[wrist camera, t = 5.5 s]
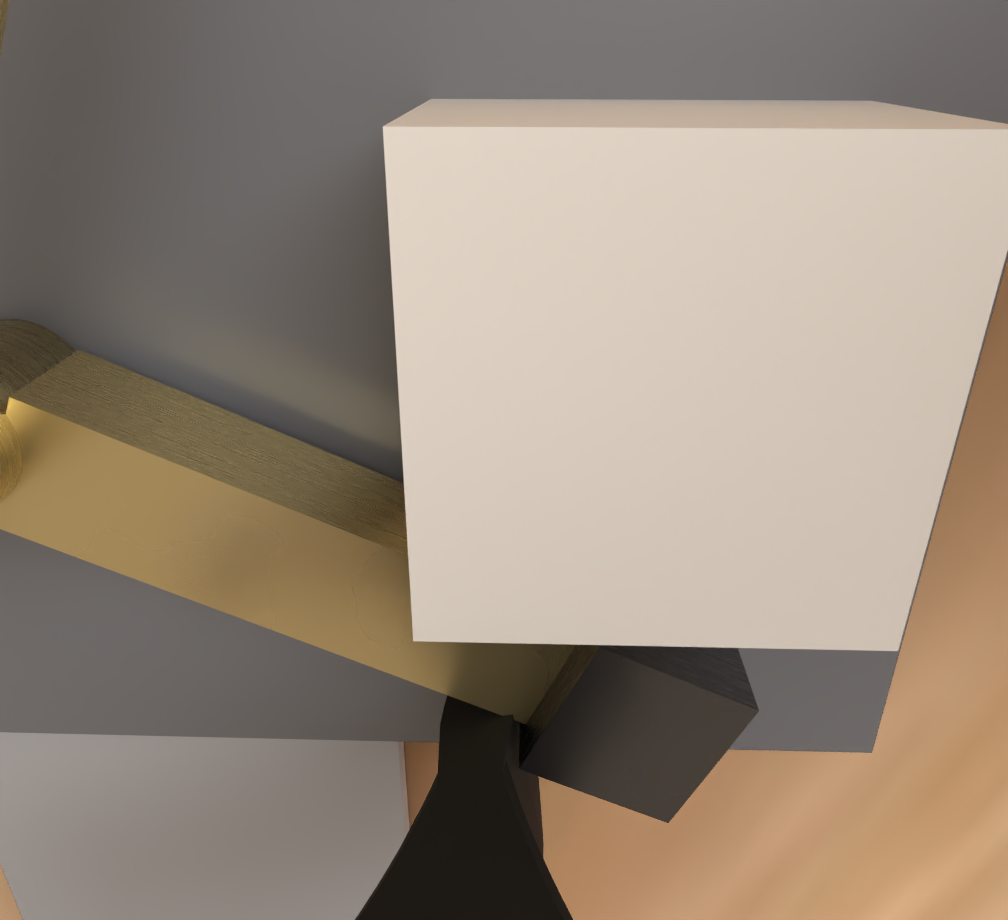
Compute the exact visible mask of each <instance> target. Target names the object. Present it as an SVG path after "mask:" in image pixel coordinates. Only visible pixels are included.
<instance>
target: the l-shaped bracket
mask: <svg viewBox="0 0 1008 920" xmlns="http://www.w3.org/2000/svg"><path fill="white" fill-rule="evenodd" d="M9 2H10V0H0V56H1V50H2V44H3V38H4V32H5V26H6V20H7V14H8V8H9ZM0 529H1V530H4V531H7V532H9V533H12V534H15V535H17V536H20V537H23V538H26V539H28V540H31V541H34V542H36V543H39V544H42V545H44V546H47V547H50V548H52V549H55V550H58V551H61V552H63V553H66V554H69V555H71V556H74V557H77V558H79V559H82V560H85V561H87V562H90V563H93V564H95V565H98V566H101V567H104V568H106V569H109V570H112V571H114V572H117V573H120V574H122V575H125V576H128V577H130V578H133V579H136V580H139V581H141V582H144V583H147V584H149V585H152V586H155V587H157V588H160V589H163V590H165V591H168V592H171V593H174V594H176V595H179V596H182V597H184V598H187V599H190V600H192V601H195V602H198V603H200V604H203V605H206V606H209V607H211V608H214V609H217V610H219V611H222V612H225V613H227V614H230V615H233V616H235V617H238V618H241V619H243V620H246V621H249V622H252V623H254V624H257V625H260V626H262V627H265V628H268V629H270V630H273V631H276V632H278V633H281V634H284V635H287V636H289V637H292V638H295V639H297V640H300V641H303V642H305V643H308V644H311V645H313V646H316V647H319V648H322V649H324V650H327V651H330V652H332V653H335V654H338V655H340V656H343V657H346V658H348V659H351V660H354V661H357V662H359V663H362V664H365V665H367V666H370V667H373V668H375V669H378V670H381V671H383V672H386V673H389V674H392V675H394V676H397V677H400V678H402V679H405V680H408V681H410V682H413V683H416V684H418V685H421V686H424V687H426V688H429V689H432V690H435V691H437V692H440V693H443V694H445V695H448V696H451V697H453V698H456V699H459V700H461V701H464V702H467V703H470V704H472V705H475V706H478V707H480V708H483V709H486V710H488V711H491V712H494V713H496V714H499V715H502V716H504V715H512V714H513V717H514V720H515V721H518V722H520V736H519V769H520V770H523V771H526V772H528V773H531V774H534V775H537V776H539V777H542V778H545V779H548V780H550V781H553V782H556V783H559V784H562V785H564V786H567V787H570V788H573V789H575V790H578V791H581V792H584V793H586V794H589V795H592V796H595V797H598V798H600V799H603V800H606V801H609V802H611V803H614V804H617V805H620V806H622V807H625V808H628V809H631V810H634V811H636V812H639V813H642V814H645V815H647V816H650V817H653V818H656V819H658V820H661V821H664V822H667V823H669V822H670V820H671V819H672V818H673V817H674V815H675V814H676V813H677V812H678V811H679V809H680V808H681V807H682V806H683V804H684V803H685V802H686V801H687V799H688V798H689V797H690V796H691V794H692V793H693V792H694V791H695V790H696V788H697V787H698V786H699V785H700V783H701V782H702V781H703V780H704V778H705V777H706V776H707V775H708V774H709V772H710V771H711V770H712V769H713V767H714V766H715V765H716V764H717V762H718V761H719V760H720V759H721V758H722V756H723V755H724V754H725V753H726V751H727V750H728V749H729V748H730V746H731V745H732V744H733V743H734V742H735V740H736V739H737V738H738V737H739V735H740V734H741V733H742V732H743V730H744V729H745V728H746V727H747V725H748V724H749V723H750V722H751V721H752V719H753V718H754V717H755V716H756V714H757V713H758V712H759V709H758V706H757V703H756V700H755V697H754V694H753V691H752V688H751V685H750V682H749V680H748V677H747V674H746V671H745V668H744V665H743V662H742V659H741V656H740V653H739V650H738V648H719V647H670V646H621V645H572V644H523V643H474V642H425V641H413V629H412V612H411V595H410V578H409V561H408V544H407V527H406V511H405V494H404V483H401V482H399V481H396V480H394V479H392V478H389V477H387V476H384V475H382V474H380V473H377V472H375V471H372V470H370V469H367V468H365V467H363V466H360V465H358V464H355V463H353V462H351V461H348V460H346V459H343V458H341V457H338V456H336V455H334V454H331V453H329V452H326V451H324V450H322V449H319V448H317V447H314V446H312V445H309V444H307V443H305V442H302V441H300V440H297V439H295V438H293V437H290V436H288V435H285V434H283V433H280V432H278V431H276V430H273V429H271V428H268V427H266V426H264V425H261V424H259V423H256V422H254V421H251V420H249V419H247V418H244V417H242V416H239V415H237V414H235V413H232V412H230V411H227V410H225V409H222V408H220V407H218V406H215V405H213V404H210V403H208V402H206V401H203V400H201V399H198V398H196V397H193V396H191V395H189V394H186V393H184V392H181V391H179V390H177V389H174V388H172V387H169V386H167V385H164V384H162V383H160V382H157V381H155V380H152V379H150V378H148V377H145V376H143V375H140V374H138V373H135V372H133V371H131V370H128V369H126V368H123V367H121V366H119V365H116V364H114V363H111V362H109V361H106V360H104V359H102V358H99V357H97V356H94V355H92V354H90V353H87V352H85V351H82V350H80V349H79V350H78V351H76V350H75V349H74V347H72V346H71V345H70V344H69V343H68V342H67V341H66V340H65V339H63V338H62V337H61V336H59V335H58V334H57V333H55V332H53V331H52V330H50V329H48V328H46V327H44V326H42V325H39V324H36V323H34V322H30V321H26V320H21V319H0Z"/></svg>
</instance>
